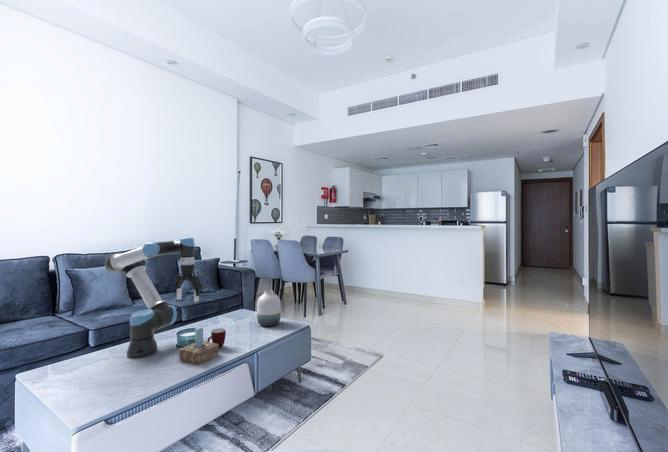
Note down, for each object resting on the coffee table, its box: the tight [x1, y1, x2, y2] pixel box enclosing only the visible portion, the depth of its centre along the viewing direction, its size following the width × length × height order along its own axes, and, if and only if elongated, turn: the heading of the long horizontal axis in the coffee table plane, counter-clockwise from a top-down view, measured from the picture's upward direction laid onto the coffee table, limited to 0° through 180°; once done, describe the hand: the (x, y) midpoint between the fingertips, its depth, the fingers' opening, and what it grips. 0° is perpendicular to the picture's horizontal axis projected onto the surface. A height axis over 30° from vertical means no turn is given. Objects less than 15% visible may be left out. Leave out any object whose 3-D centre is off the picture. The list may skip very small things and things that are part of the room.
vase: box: [256, 290, 282, 327], centre depth 234 cm, size 17×17×24 cm
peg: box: [194, 326, 204, 349], centre depth 177 cm, size 4×4×16 cm
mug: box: [206, 327, 227, 349], centre depth 191 cm, size 11×8×10 cm
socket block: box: [179, 340, 220, 366], centre depth 178 cm, size 14×14×6 cm
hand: (187, 300), depth 189 cm, fingers open, 13 cm apart
